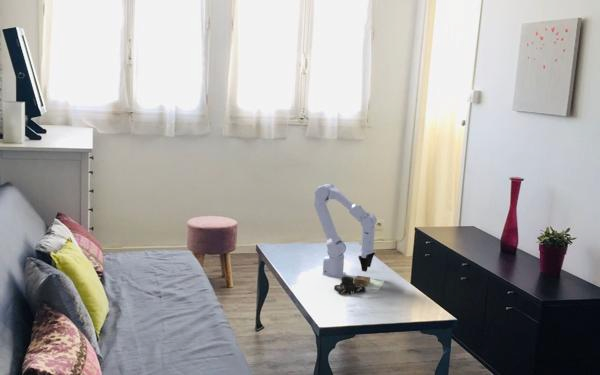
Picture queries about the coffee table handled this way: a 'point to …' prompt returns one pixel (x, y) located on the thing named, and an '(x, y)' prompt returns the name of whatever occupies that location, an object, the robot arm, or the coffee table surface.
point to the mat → (372, 283)
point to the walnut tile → (362, 280)
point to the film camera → (349, 286)
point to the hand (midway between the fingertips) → (366, 268)
